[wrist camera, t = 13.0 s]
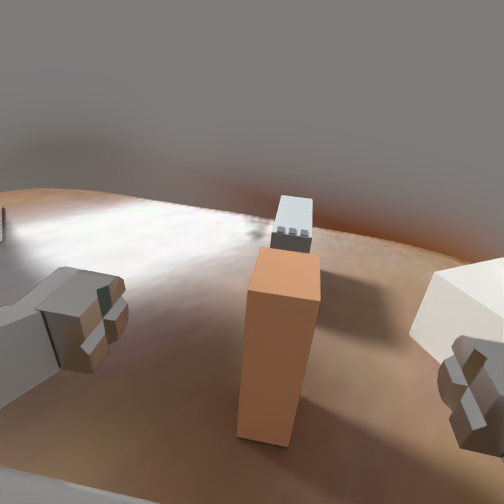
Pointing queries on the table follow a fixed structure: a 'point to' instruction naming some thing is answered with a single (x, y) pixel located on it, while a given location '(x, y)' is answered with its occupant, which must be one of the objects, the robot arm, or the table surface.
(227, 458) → the table surface
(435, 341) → the tissue box
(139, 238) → the table surface
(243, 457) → the table surface
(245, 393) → the block
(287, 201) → the pale gray chunky brick
